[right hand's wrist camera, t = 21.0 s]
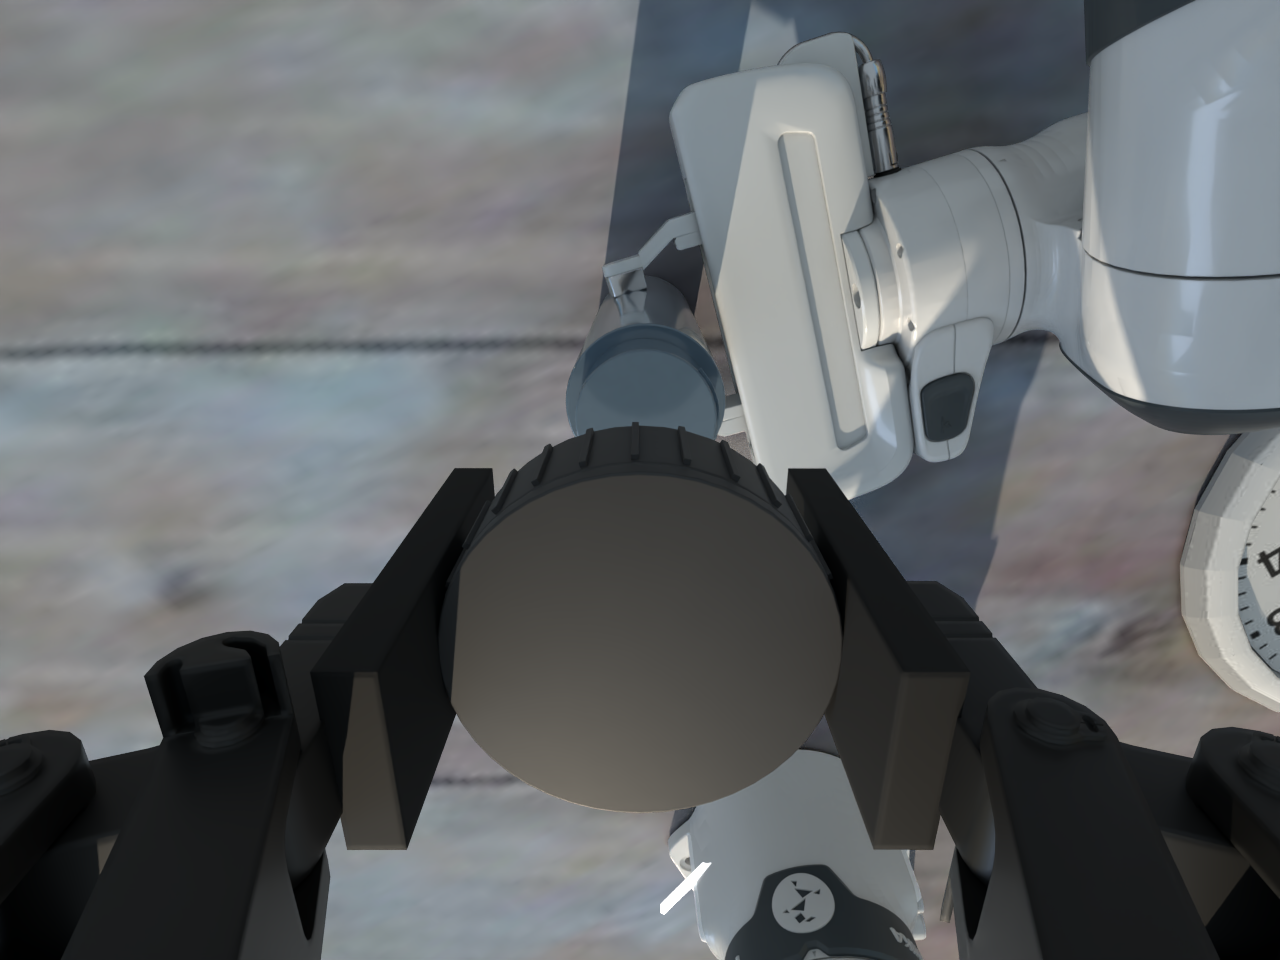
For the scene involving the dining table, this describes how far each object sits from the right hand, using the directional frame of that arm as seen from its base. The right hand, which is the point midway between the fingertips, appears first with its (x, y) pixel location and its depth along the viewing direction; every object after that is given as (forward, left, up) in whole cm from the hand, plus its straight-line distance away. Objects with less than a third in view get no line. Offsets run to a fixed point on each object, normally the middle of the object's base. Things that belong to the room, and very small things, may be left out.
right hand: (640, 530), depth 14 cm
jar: (0, 0, -27) cm, 27 cm away
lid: (0, 0, +4) cm, 4 cm away
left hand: (0, -1, -21) cm, 21 cm away
